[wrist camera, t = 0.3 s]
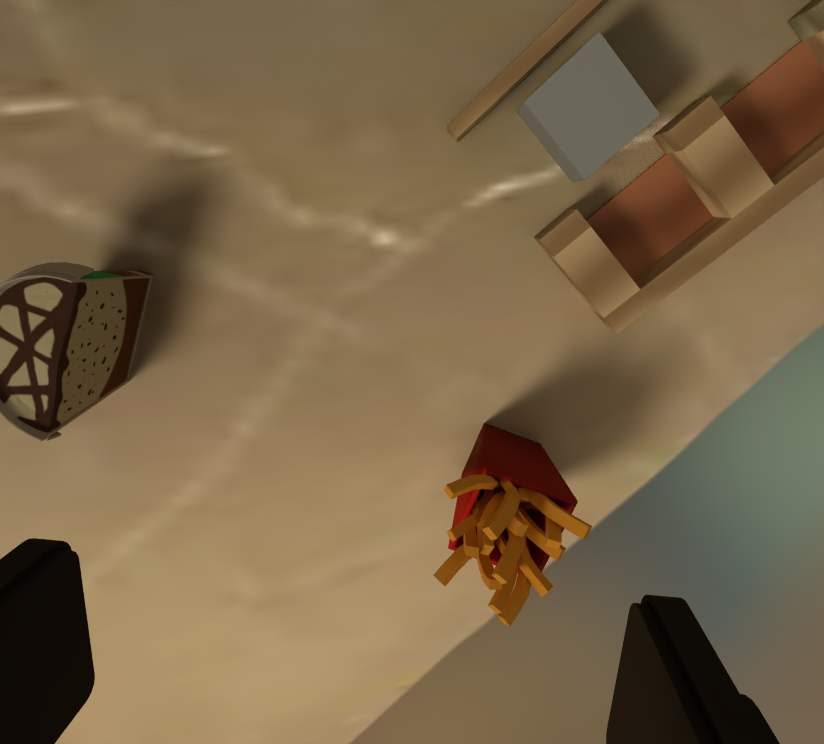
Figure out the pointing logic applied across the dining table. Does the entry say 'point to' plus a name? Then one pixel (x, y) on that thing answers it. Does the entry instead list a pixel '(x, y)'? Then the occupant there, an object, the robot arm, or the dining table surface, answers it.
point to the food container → (66, 341)
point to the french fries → (509, 518)
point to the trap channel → (685, 175)
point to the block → (588, 110)
